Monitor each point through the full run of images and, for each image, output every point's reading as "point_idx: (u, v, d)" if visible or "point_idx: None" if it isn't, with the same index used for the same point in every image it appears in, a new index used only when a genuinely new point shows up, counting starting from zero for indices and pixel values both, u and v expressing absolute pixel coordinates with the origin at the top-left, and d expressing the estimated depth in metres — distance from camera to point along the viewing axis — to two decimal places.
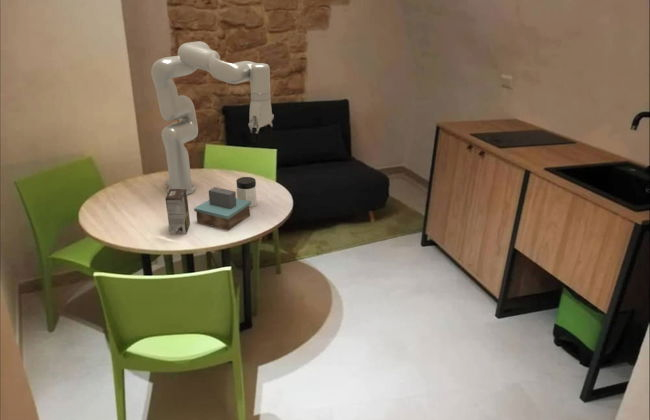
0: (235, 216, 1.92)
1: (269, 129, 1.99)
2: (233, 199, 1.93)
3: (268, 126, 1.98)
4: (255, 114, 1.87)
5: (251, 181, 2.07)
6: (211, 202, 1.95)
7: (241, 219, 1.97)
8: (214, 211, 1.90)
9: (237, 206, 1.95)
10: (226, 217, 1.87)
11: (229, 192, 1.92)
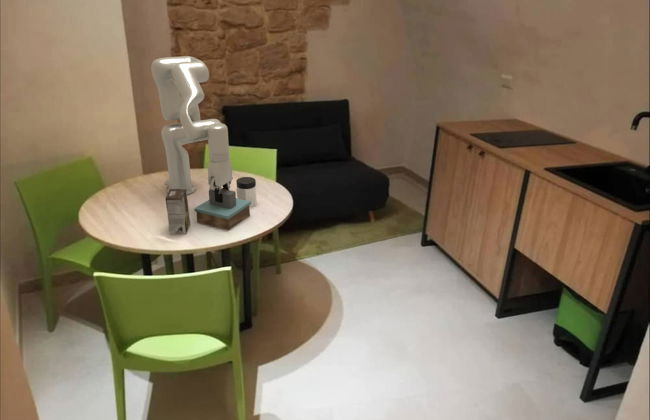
0: (235, 216, 1.92)
1: None
2: (233, 199, 1.93)
3: (225, 188, 1.95)
4: (213, 174, 1.86)
5: (251, 181, 2.07)
6: (211, 202, 1.95)
7: (241, 219, 1.97)
8: (214, 211, 1.90)
9: (237, 206, 1.95)
10: (226, 217, 1.87)
11: (229, 192, 1.92)
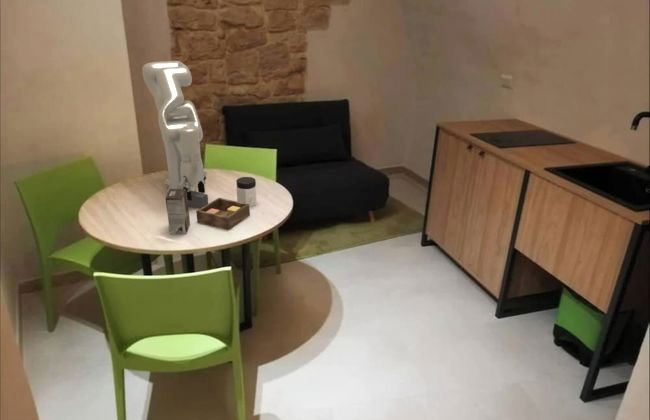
0: (235, 216, 1.92)
1: (202, 186, 2.09)
2: (205, 201, 2.07)
3: (201, 183, 2.09)
4: (185, 174, 1.98)
5: (251, 181, 2.07)
6: None
7: (241, 219, 1.97)
8: None
9: None
10: None
11: (201, 195, 2.06)
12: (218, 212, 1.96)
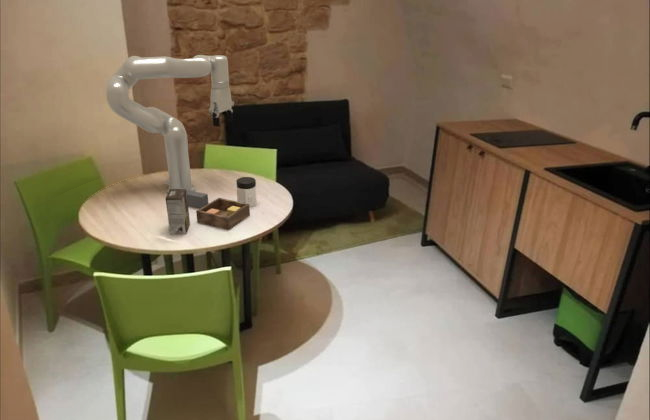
0: (235, 216, 1.92)
1: (229, 114, 2.23)
2: (205, 201, 2.07)
3: (229, 112, 2.23)
4: (215, 100, 2.12)
5: (251, 181, 2.07)
6: None
7: (241, 219, 1.97)
8: None
9: None
10: None
11: (202, 194, 2.06)
12: (218, 212, 1.96)
